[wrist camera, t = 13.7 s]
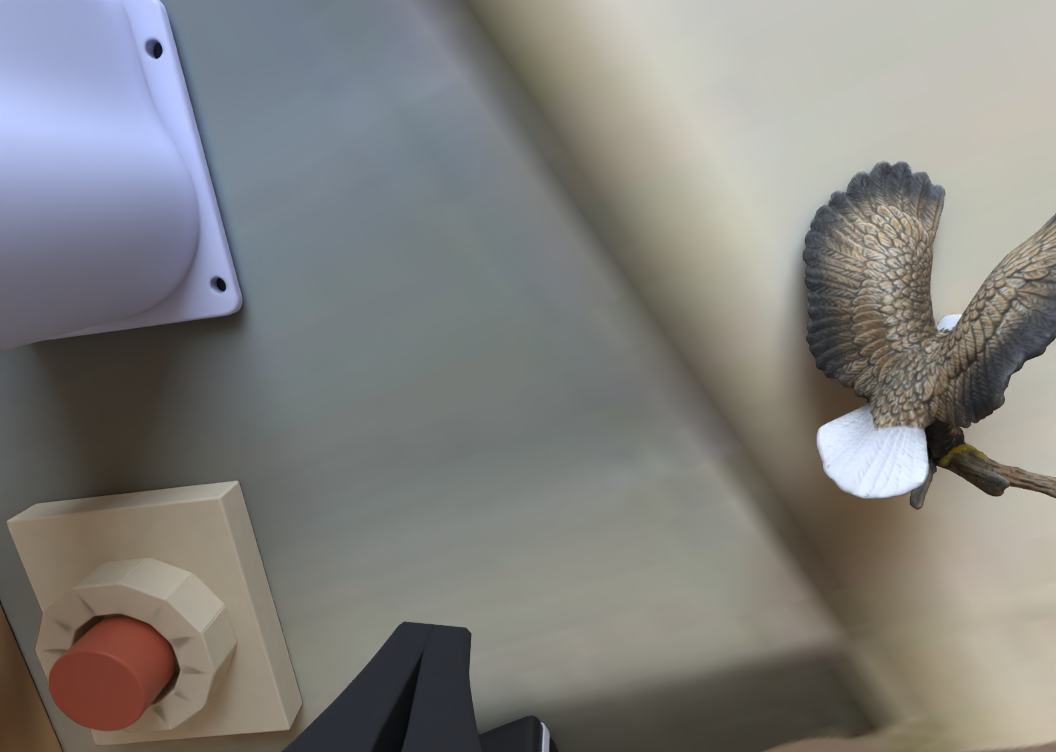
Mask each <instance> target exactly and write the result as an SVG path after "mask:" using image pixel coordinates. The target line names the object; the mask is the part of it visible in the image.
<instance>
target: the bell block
mask: <svg viewBox="0 0 1056 752" xmlns="http://www.w3.org/2000/svg"><path fill="white" fill-rule="evenodd" d="M6 523H7V526H8V528H9V531H10V533H11V536H12V538H13V541H14V543H15V546H16V548H17V551H18V553H19V556H20V558H21V560H22V563H23V565H24V568H25V570H26V573H27V575H28V578H29V580H30V583H31V585H32V588H33V590H34V593H35V595H36V598H37V600H38V602H39V605H40V607H41V610H42V612H43V616H42V620H41V625H40V630H39V635H38V639H37V644H36V650H35V651H36V653H37V656H38V658H39V661H40V663H41V665H42V668H43V670H44V673H45V675H46V677H47V680H48V682H49V674H50V671H51V669H52V667H53V665H54V663H55V662H56V661H57V660H58V659H59V658H60V657H61V656H62V655H63V654H64V653H65V652H66V651H67V650H69V649H70V648H71V647H72V646H73V645H74V644H75V643H76V642H77V641H78V640H79V639H80V638H81V637H83V636H84V635H85V634H86V633H87V632H88V631H89V630H90V629H91V628H92V627H93V626H94V625H96V624H97V623H99V622H100V621H103V620H105V619H108V618H111V617H119V616H124V617H132V618H135V619H138V620H140V621H143V622H146V623H149V624H150V625H152V626H153V627H154V628H155V629H156V630H157V631H158V632H159V633H160V634H161V635H162V636H163V637H164V638H165V639H166V640H168V641H169V643H170V645H171V646H172V649H173V651H174V655H175V669H174V673H173V675H172V677H171V679H170V681H169V682H168V683H167V684H166V686H165V687H164V688H163V689H162V691H161V692H160V693H159V694H158V696H157V697H156V698H155V699H154V701H153V702H152V703H151V704H150V706H149V707H148V708H147V709H146V711H145V712H144V713H143V714H142V716H141V717H140V718H139V719H138V720H137V721H136V722H135V723H133V724H131V725H130V726H128V727H126V728H123V729H120V730H114V731H100V730H95V729H91V728H89V729H90V731H91V733H92V736H93V738H94V741H95V743H96V745H97V746H101V745H113V744H125V743H138V742H150V741H162V740H174V739H187V738H199V737H211V736H223V735H235V734H248V733H260V732H272V731H284V730H289V729H290V728H291V726H292V724H293V722H294V720H295V718H296V716H297V714H298V712H299V710H300V708H301V706H302V699H301V695H300V692H299V688H298V685H297V681H296V678H295V674H294V671H293V667H292V664H291V660H290V657H289V653H288V650H287V646H286V643H285V639H284V636H283V633H282V629H281V626H280V622H279V619H278V615H277V612H276V608H275V605H274V601H273V598H272V594H271V591H270V587H269V584H268V580H267V577H266V573H265V570H264V567H263V563H262V560H261V556H260V553H259V549H258V546H257V542H256V539H255V535H254V532H253V528H252V525H251V521H250V518H249V514H248V511H247V508H246V504H245V501H244V497H243V494H242V490H241V487H240V483H239V481H229V482H221V483H212V484H203V485H194V486H186V487H177V488H168V489H160V490H151V491H142V492H133V493H125V494H116V495H107V496H99V497H90V498H81V499H73V500H64V501H55V502H46V503H38V504H35V505H33V506H31V507H30V508H28V509H26V510H25V511H23V512H21V513H20V514H18V515H16V516H14V517H13V518H11V519H9V520H8V521H7V522H6Z"/></svg>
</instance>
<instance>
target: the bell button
mask: <svg viewBox="0 0 1056 752" xmlns="http://www.w3.org/2000/svg"><path fill="white" fill-rule="evenodd" d="M174 669H175V655H174V651H173V649H172V646H171V645H170V643H169V641H168V640H166V639H165V638H164V637H163V636H162V635H161V634H160V633H159V632H158V631H157V630H156V629H155V628H154V627H153V626H152V625H150V624H149V623H146V622H143V621H140V620H138V619H135V618H132V617H124V616H119V617H111V618H108V619H105V620H103V621H100V622H99V623H97V624H96V625H94V626H93V627H92V628H91V629H90V630H89V631H88V632H87V633H86V634H85V635H84V636H83V637H81V638H80V639H79V640H78V641H77V642H76V643H75V644H74V645H73V646H72V647H71V648H70V649H69V650H67V651H66V652H65V653H64V654H63V655H62V656H61V657H60V658H59V659H58V660H57V661H56V662H55V663H54V665H53V667H52V669H51V671H50V674H49V690H50V693H51V696H52V698H53V700H54V702H55V703H56V705H57V706H58V707H59V709H60V710H61V711H62V712H63V713H64V714H65V715H66V716H68V717H69V718H70V719H72V720H73V721H75V722H76V723H78V724H80V725H82V726H85V727H88V728H91V729H95V730H100V731H114V730H120V729H123V728H126V727H128V726H130V725H131V724H133V723H135V722H136V721H137V720H138V719H139V718H140V717H141V716H142V714H143V713H144V712H145V711H146V709H147V708H148V707H149V706H150V704H151V703H152V702H153V701H154V699H155V698H156V697H157V696H158V694H159V693H160V692H161V691H162V689H163V688H164V687H165V686H166V684H167V683H168V682H169V681H170V679H171V677H172V675H173V673H174Z"/></svg>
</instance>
